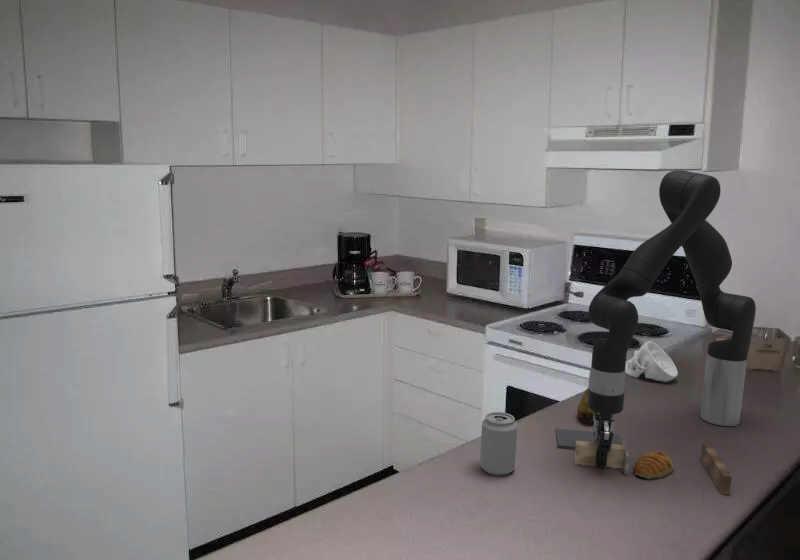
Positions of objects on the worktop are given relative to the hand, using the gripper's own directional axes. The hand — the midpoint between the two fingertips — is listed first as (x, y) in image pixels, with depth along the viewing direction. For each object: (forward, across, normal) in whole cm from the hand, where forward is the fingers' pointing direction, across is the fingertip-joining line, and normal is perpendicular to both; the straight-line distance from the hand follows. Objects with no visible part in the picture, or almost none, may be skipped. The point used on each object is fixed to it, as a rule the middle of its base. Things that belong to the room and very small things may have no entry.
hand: (600, 462), depth 148 cm
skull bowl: (+1, +65, -22) cm, 69 cm away
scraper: (0, 0, 0) cm, 1 cm away
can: (+1, -7, +22) cm, 23 cm away
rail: (0, 0, -24) cm, 24 cm away
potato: (+1, +28, -1) cm, 28 cm away
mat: (0, +12, +1) cm, 12 cm away
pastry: (+1, -1, -11) cm, 11 cm away
